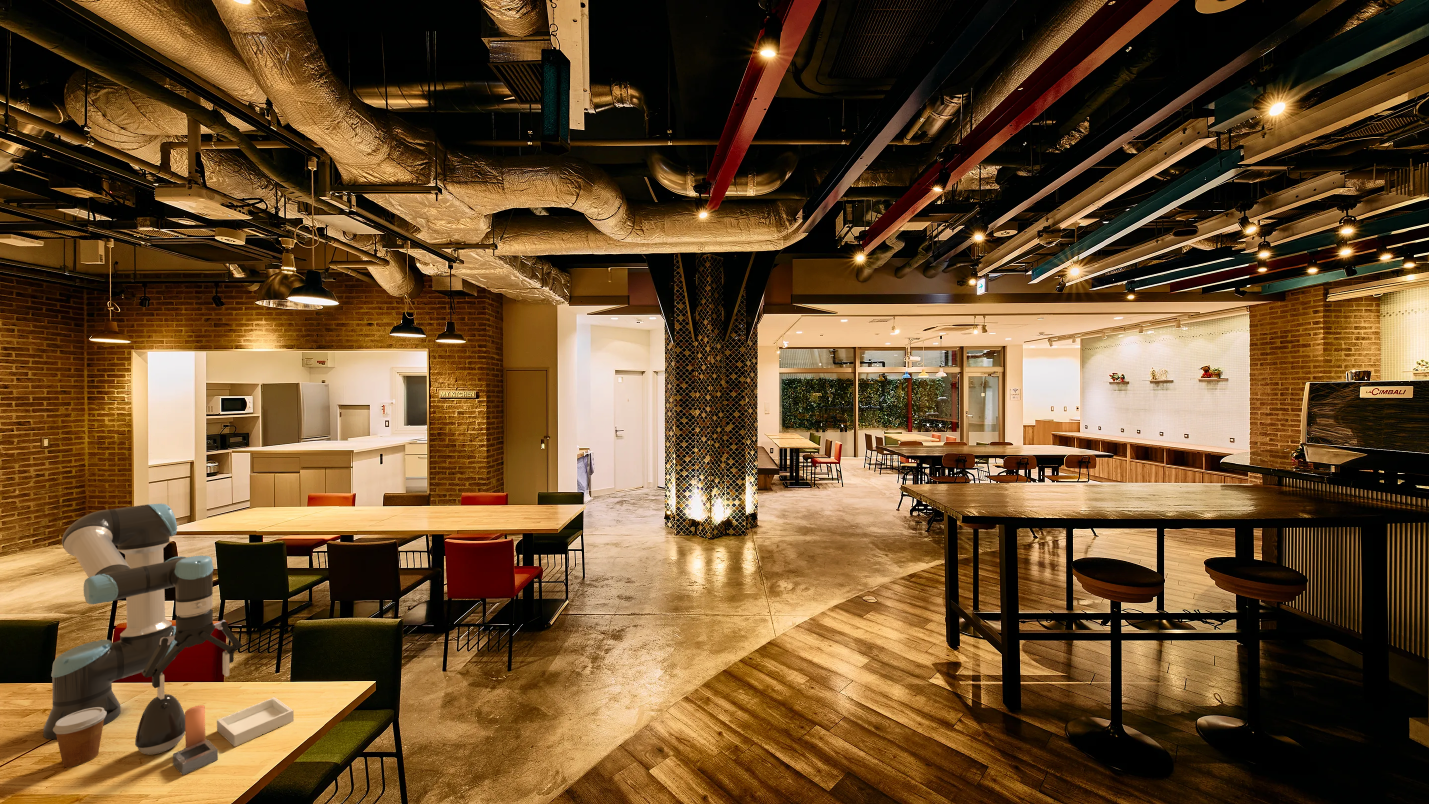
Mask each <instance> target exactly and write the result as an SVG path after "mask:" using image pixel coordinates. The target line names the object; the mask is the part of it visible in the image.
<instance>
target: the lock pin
mask: <svg viewBox="0 0 1429 804" xmlns="http://www.w3.org/2000/svg"><path fill="white" fill-rule="evenodd" d="M184 714H185V734H184V735H185V737H184V739H185V747H186V748H188V747H190V746H193V745H195V744H198V743H200V742H202V741H205V740H206V706H205V705H203V704H199V705H195V706H191V707H190V708H189V709H186V710H185V712H184Z"/></svg>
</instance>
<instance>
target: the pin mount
mask: <svg viewBox="0 0 1429 804" xmlns="http://www.w3.org/2000/svg"><path fill="white" fill-rule="evenodd" d="M218 754H219V749H218V748H217V747H216V746H215V745H214V744H213V743H212V742H211V740H209V739H208V738H206V739H205V741H202V742H200V743H198V744H195V745H193V746H190V747H188V748H186V749H184V748H182V749H181V750H178V751H175V752H174V753H172V765H173V767H175V769H176V771H177V770H178V772H179V773H180V774H181V775H182V776H185V775H187V774H189V773H192V772H194V771H196V770H198V769H201V768H203V767H205V766H208V765H209V764H212V763H214V762H216V761H218V760H219V755H218Z"/></svg>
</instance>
